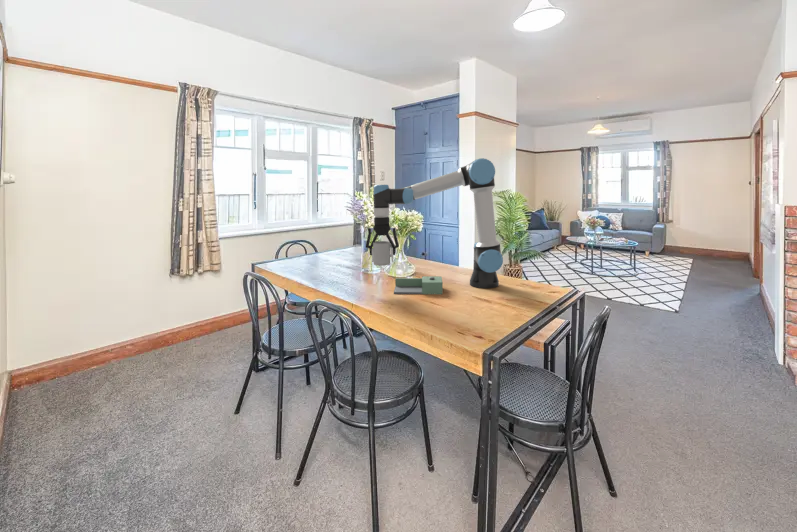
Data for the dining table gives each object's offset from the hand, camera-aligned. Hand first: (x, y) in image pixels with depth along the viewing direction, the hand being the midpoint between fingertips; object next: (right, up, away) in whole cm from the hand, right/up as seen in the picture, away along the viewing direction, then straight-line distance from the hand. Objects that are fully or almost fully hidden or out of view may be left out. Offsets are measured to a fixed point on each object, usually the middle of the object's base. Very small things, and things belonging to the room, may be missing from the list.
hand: (382, 261), depth 197 cm
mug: (+1, -1, 0) cm, 2 cm away
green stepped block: (+19, -15, +2) cm, 24 cm away
